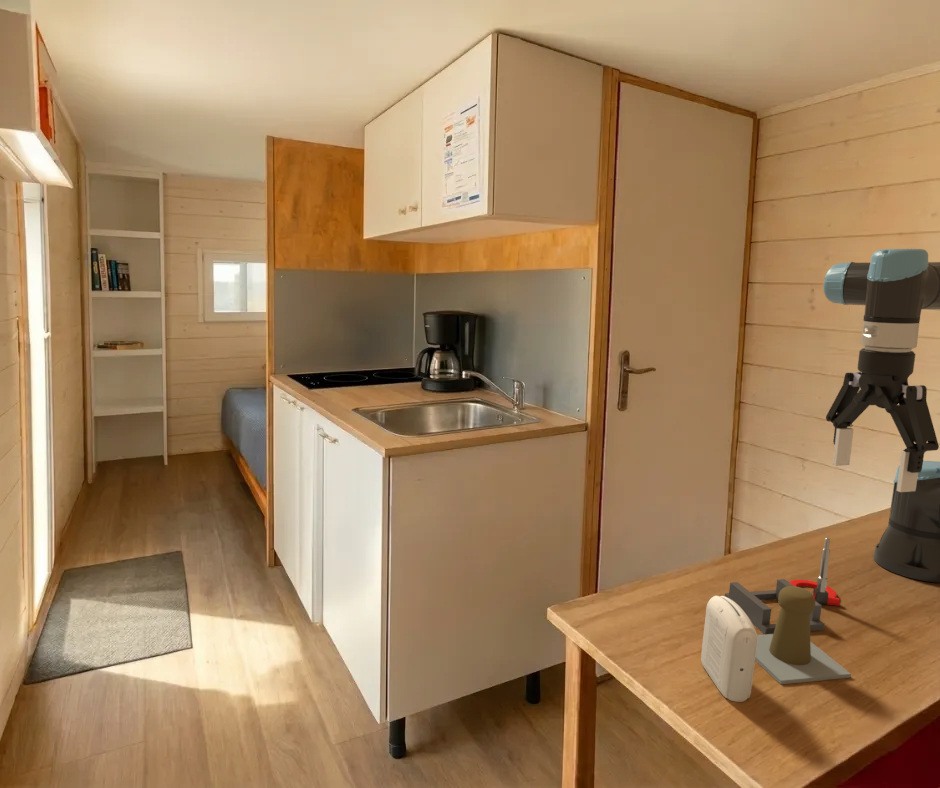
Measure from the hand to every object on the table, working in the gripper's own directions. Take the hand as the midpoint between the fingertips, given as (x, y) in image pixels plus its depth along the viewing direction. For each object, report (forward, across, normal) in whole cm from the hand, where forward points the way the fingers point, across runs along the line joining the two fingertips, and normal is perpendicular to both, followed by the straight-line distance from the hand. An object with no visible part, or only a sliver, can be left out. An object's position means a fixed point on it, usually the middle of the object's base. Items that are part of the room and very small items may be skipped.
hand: (871, 477), depth 107 cm
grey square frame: (+28, -8, -10) cm, 31 cm away
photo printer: (+27, +9, -30) cm, 42 cm away
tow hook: (+29, -14, +3) cm, 32 cm away
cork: (+27, +5, -16) cm, 32 cm away
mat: (+28, +5, -16) cm, 32 cm away
